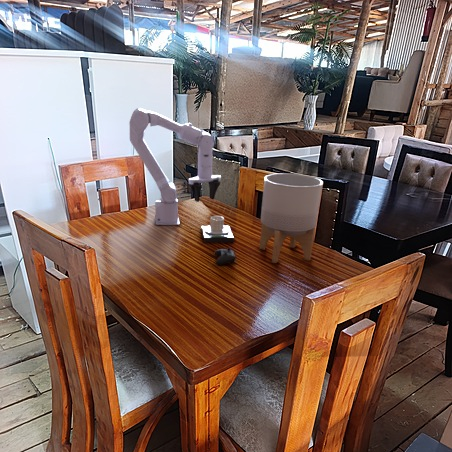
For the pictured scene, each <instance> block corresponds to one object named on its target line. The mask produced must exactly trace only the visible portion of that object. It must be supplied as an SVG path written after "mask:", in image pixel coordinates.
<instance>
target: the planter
mask: <svg viewBox="0 0 452 452" xmlns="http://www.w3.org/2000/svg"><path fill="white" fill-rule="evenodd" d="M323 186H324V181H323V180H321V179H320V178H318V177H315V176H310V175H306V174H299V173H286V172H285V173H284V172H283V173H281V172H280V173H271V174H268V175H265V176H264V181H263V192H262V202H261V211H260V212H261V213H260V222H261V227H260V228H261V229H260V237H259V238H260V239H259V240H260V241H259V250H263V251H265V250H266V249H267V245H268V242H269V241H270V240H271V239H272V238H273V237H274V238H273V245H272V246H273V247H272V256H271V263H272V264H277V263H278V262H279V257H280V253H281V250H282V247H283V245H284V242H285V240H286V239H287V237H289V240H290V241H289V242H290V243H289V247H290V248H293V249H294V248H296V245H297V243H298V244H299V245H300V247H301V249H302V252H303V253H302V254H303V260H304V261H308V262H309V261H310V260H311V256H312V250H313V244H314V239H315V233H316V227H317V223H318V216H319V210H320V205H321V204H320V203H321V197H322V191H323Z"/></svg>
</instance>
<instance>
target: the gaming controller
mask: <svg viewBox="0 0 452 452" xmlns="http://www.w3.org/2000/svg"><path fill="white" fill-rule="evenodd" d="M214 256H216V257H217V258H216V261H215V265H217V266H223V265H227V264H230V265H232V264H236V261H235V260H236V254H235V251H234V249H233V250H232V248H231V247H227V249H226V248H219V249H217V250H215V251H214Z"/></svg>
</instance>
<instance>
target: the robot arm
mask: <svg viewBox="0 0 452 452" xmlns="http://www.w3.org/2000/svg"><path fill="white" fill-rule="evenodd" d="M128 125H129V141H130V144H131V145H132V146H133V148H134V150H135V151H136V153H137V155H138V156H139V158H140V159H141V161H142V163H143V164H144V166H145V167H146V169H147V171H148V173H149V174H150V176H151V177H152V179H153V181H154V182H155V184H156V186H157V188H158V189H159V192H160V198H159V200H154V206H155V214H154V220H155V225H156V226H180V217H179V200H178V192H177V187H176V185H175V183H173V182H172V181H171V180H170V179H169V178H168V177H167V175H166V174H165V172H164V170H163V169H162V167H161V166H160V164H159V162H158V160H157V159H156V157H155V155H154V154H153V152H152V151H151V149H150V147H149V146H148V144H147V142H146V140H145V139H144V136H145V132H146V130H147V128H148V126H149V127H156V126H159V127H162V128H164V129H166V130H169V131H171V132H174V133H176V134H178V136H179V139H180V140H183V141H185V142H187V143H189V144H192V145H193V146H198V153H197V176H194V177H190V178H188V185H189V187H190V189H191V192H192V195H193V198H194V199H193V200H194V202H196V203H199V202H200V195H201V194H200V193H201V189H202V185H201V183H208V188H209V199H210V200H215V196H216V194H217V190H218V188H220V187H219V186H220V185H221V182H220V181H221V178H222V176H221V175H219V174H213V161H214V160H213V159H214V155H213V151H214V149H213V148H214V146H215V140H214V138H213V136H212V135H211V134H210V133H208V132H207V131H205V130H204V129H199V128H197V127H195V126H193V123H190V122H188V123H183V124H180V123H178V122H175V121H174V120H172V119H170V118H168V117H166V116H164V115H162V114H159V113H157V112H154V111H151V110H148V109H147V110H146V109H145V108H143V107H138V108H136V109H135V110H133V111H132V114H131V116H130V119H129V123H128Z"/></svg>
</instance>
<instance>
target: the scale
mask: <svg viewBox="0 0 452 452" xmlns="http://www.w3.org/2000/svg"><path fill="white" fill-rule="evenodd" d="M201 234H202V238H203V242H204V243H206V244H207V243H209V244H210V243H213V244H214V243H217V244H218V243H220V244H221V243H234V242H235V237H234V235H233V232H232V230H231V227H230V226H229V225H224V229H223V230H222V231H213V230H211V229H210V225H201Z"/></svg>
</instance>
